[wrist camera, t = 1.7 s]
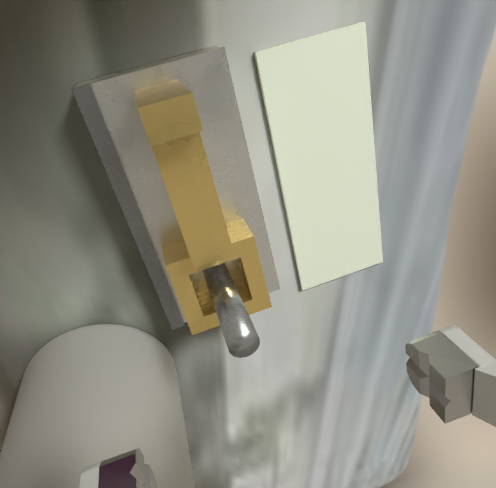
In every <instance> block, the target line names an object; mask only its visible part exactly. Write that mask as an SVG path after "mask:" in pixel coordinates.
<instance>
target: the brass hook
mask: <svg viewBox="0 0 496 488" xmlns="http://www.w3.org/2000/svg"><path fill="white" fill-rule="evenodd" d="M134 94H135V99H136V104H137V109H138V112H139V114H140V117H141V120H142V123H143V126H144V129H145V132H146V134H147V137H148V140H149V143H150V146H152V149H153V152H154V155H155V158H156V161H157V163H158V166H159V169H160V172H161V175H162V178H163V181H164V183H165V186H166V189H167V192H168V195H169V198H170V201H171V203H172V206H173V209H174V212H175V215H176V218H177V221H178V224H179V226H180V229H181V232H182V235H183V238H181V239H178V240H175V241H172V242H169V243H166V244H163V245H161V246H162V251H163V257H164V262H165V267H166V269H167V272H168V274H169V277H170V280H171V282H172V285H173V287H174V290H175V292H176V295H177V298H178V300H179V303H180V305H181V308H182V310H183V313H184V315H185V318H186V321H187V323H188V326H189V328H190V331H191V333H192V335H194V334H197V333H200V332H203V331H206V330H208V329H211V328H214V327H217V326H219V325H220V323H219V320H218V317H217V314H216V311H215V308H214V305H213V302H212V299H211V296H210V293H209V290H205V291H203V292H200V293H197V291H196V289H195V286H194V283H193V280H192V278H191V275H190V274H193V273H196V272H199V271H202V270H205V269H208V268H210V267H213V266H216V265H219V264H222V263H225V262H228V261H231V260H234V259H237V262H238V265H239V269H240V272H241V276H242V278H240V279H237V280H234V283H235V285H236V288H237V290H238V292H239V294H240V297H241V299H242V301H243V303H244V306H245V308H246V310H247V312H248V315H250V314H253V313H256V312H258V311H261V310H264V309H267V308H269V307H272V306H271V302H270V298H269V294H268V290H267V286H266V282H265V278H264V274H263V270H262V266H261V262H260V258H259V254H258V250H257V246H256V242H255V238H254V235H253V234H252V232H251V231H250V229H249V228H248V226H247V224H246V223H245V221H244V220H243V218H242V219H239V220H236V221H233V222H230V223H227V224H226V223H225V219H224V216H223V212H222V209H221V205H220V202H219V198H218V195H217V191H216V188H215V184H214V181H213V177H212V173H211V170H210V166H209V163H208V159H207V156H206V152H205V149H204V145H203V142H202V138H201V135H200V131H203V129H202V125H201V121H200V118H199V114H198V111H197V107H196V104H195V100H194V96H193V93H192V92H191V91H190V90H189V89H188V88H187V87H185V86H184V85H183V84H182V83H181V82H179V81H178V80H173V81H170V82H166V83H162V84H159V85H155V86H152V87H148V88H145V89H141V90H137V91H134Z"/></svg>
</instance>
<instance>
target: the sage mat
mask: <svg viewBox="0 0 496 488" xmlns="http://www.w3.org/2000/svg"><path fill="white" fill-rule="evenodd" d="M254 55H255V60H256V65H257V70H258V75H259V80H260V85H261V90H262V95H263V100H264V105H265V110H266V115H267V120H268V125H269V130H270V135H271V140H272V146H273V151H274V156H275V161H276V166H277V171H278V176H279V181H280V186H281V191H282V196H283V201H284V206H285V211H286V216H287V221H288V226H289V231H290V236H291V241H292V246H293V251H294V256H295V261H296V266H297V271H298V276H299V281H300V286H301V289H302V290H306V289H308V288H311V287H314V286H317V285H320V284H322V283H325V282H328V281H331V280H334V279H336V278H339V277H342V276H345V275H348V274H350V273H353V272H356V271H359V270H361V269H364V268H367V267H370V266H373V265H375V264H378V263H381V262H383V257H382V243H381V230H380V216H379V203H378V189H377V175H376V162H375V148H374V134H373V121H372V107H371V93H370V80H369V66H368V53H367V39H366V25H365V22H361V23H357V24H354V25H350V26H346V27H343V28H339V29H336V30H332V31H328V32H325V33H321V34H318V35H314V36H310V37H307V38H303V39H300V40H296V41H292V42H289V43H285V44H282V45H278V46H274V47H271V48H267V49H264V50H260V51H256V52H254Z"/></svg>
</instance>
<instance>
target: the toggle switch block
mask: <svg viewBox="0 0 496 488" xmlns="http://www.w3.org/2000/svg"><path fill="white" fill-rule="evenodd" d="M173 80H178V81H179V82H181V83H182V84H183V85H184V86H185V87H187V88H188V89H189V90H190V91H191V92H192V93H193V96H194V100H195V104H196V107H197V111H198V114H199V118H200V121H201V125H202V129H203V131H200V135H201V138H202V142H203V145H204V149H205V152H206V156H207V159H208V163H209V166H210V170H211V173H212V177H213V181H214V184H215V188H216V191H217V195H218V198H219V202H220V205H221V209H222V212H223V216H224V219H225V223H226V224H227V223H230V222H233V221H236V220H239V219H242V218H243V220H244V221H245V223H246V224H247V226H248V228H249V229H250V231H251V232H252V234H253V235H254V238H255V242H256V246H257V250H258V254H259V258H260V262H261V266H262V270H263V274H264V278H265V282H266V286H267V290H268V293H270V292H272V291H275V290H278V289H280V287H279V282H278V278H277V274H276V269H275V265H274V261H273V256H272V252H271V248H270V243H269V239H268V235H267V230H266V226H265V222H264V217H263V213H262V209H261V204H260V200H259V196H258V191H257V187H256V183H255V178H254V174H253V170H252V165H251V161H250V157H249V152H248V148H247V144H246V139H245V135H244V131H243V126H242V122H241V118H240V113H239V109H238V105H237V100H236V96H235V92H234V87H233V83H232V79H231V74H230V70H229V66H228V61H227V57H226V53H225V48H224V47H220V46H212V47H208V48H205V49H201V50H197V51H194V52H190V53H186V54H183V55H179V56H175V57H172V58H168V59H164V60H161V61H157V62H153V63H150V64H146V65H142V66H139V67H135V68H131V69H128V70H124V71H120V72H117V73H113V74H109V75H106V76H102V77H98V78H95V79H91V80H87V81H84V82H80V83H77V84H76V85H75V86H74V87H73V88H72V92H73V94H74V97H75V99H76V102H77V104H78V106H79V109H80V111H81V114H82V116H83V118H84V121H85V123H86V125H87V128H88V130H89V133H90V135H91V137H92V140H93V142H94V145H95V147H96V149H97V152H98V154H99V156H100V159H101V161H102V164H103V166H104V168H105V171H106V173H107V176H108V178H109V180H110V183H111V185H112V188H113V190H114V192H115V195H116V197H117V199H118V202H119V204H120V207H121V209H122V211H123V214H124V216H125V219H126V221H127V223H128V226H129V228H130V230H131V233H132V235H133V238H134V240H135V242H136V245H137V247H138V250H139V252H140V254H141V257H142V259H143V261H144V264H145V266H146V269H147V271H148V273H149V276H150V278H151V281H152V283H153V285H154V288H155V290H156V293H157V295H158V297H159V300H160V302H161V304H162V307H163V309H164V312H165V314H166V316H167V319H168V321H169V324H170V326H171V328H172V330H175V329H178V328H180V327H183V326H185V324H184V323H185V322H187V321H186V318H185V315H184V313H183V310H182V308H181V305H180V303H179V300H178V298H177V295H176V292H175V290H174V287H173V285H172V282H171V280H170V277H169V274H168V272H167V269H166V267H165V262H164V257H163V251H162V246H161V245H163V244H166V243H169V242H172V241H175V240H178V239H181V238H183V235H182V232H181V229H180V226H179V224H178V221H177V218H176V215H175V212H174V209H173V206H172V203H171V201H170V198H169V195H168V192H167V189H166V186H165V183H164V181H163V178H162V175H161V172H160V169H159V166H158V163H157V161H156V158H155V155H154V152H153V149H152V146H150V143H149V140H148V137H147V134H146V132H145V129H144V126H143V123H142V120H141V117H140V114H139V112H138V109H137V104H136V99H135V94H134V91H137V90H141V89H145V88H148V87H152V86H155V85H159V84H162V83H166V82H170V81H173ZM190 275H191V278H192V280H193V283H194V286H195V289H196V291H197V293H200V292H203V291H205V290H209V293H210V296H211V299H212V302H213V305H214V308H215V311H216V314H217V317H218V320H219V323H220V326H221V329H222V332H223V335H224V338H225V341H226V344H227V347H228V350H229V352H230V353H231V354H232V355H233V356H235V357H240V358H242V357H247V356H249V355H251V354H253V353H254V352H255V351H256V350H257V349H258V347H259V344H260V340H259V337H258V335H257V332H256V330H255V328H254V326H253V324H252V321H251V319H250V317H249V315H248V312H247V310H246V308H245V306H244V303H243V301H242V299H241V297H240V294H239V292H238V290H237V288H236V285H235V283H234V280H237V279H240V278H242V276H241V272H240V269H239V265H238V262H237V259H234V260H231V261H228V262H225V263H222V264H219V265H216V266H213V267H210V268H208V269H205V270H202V271H199V272H196V273H193V274H190Z"/></svg>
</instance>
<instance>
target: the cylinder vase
mask: <svg viewBox="0 0 496 488" xmlns="http://www.w3.org/2000/svg"><path fill="white" fill-rule="evenodd" d="M138 448H139V449H140V450H141V452H142V453H143V455H144V463H145V464H148V465H150V467H151V469H152V471H153V474H154V476H155V480H156V484H157V488H195V485H194V478H193V472H192V466H191V459H190V453H189V447H188V441H187V434H186V428H185V422H184V415H183V409H182V403H181V396H180V390H179V384H178V378H177V371H176V366H175V363H174V360H173V358H172V356H171V354H170V353H169V351H168V350H167V348H166V347H165V346H164V345H163V344H162V343H161V342H160V341H159V340H157V339H156V338H155V337H153V336H152V335H150V334H148V333H146V332H144V331H142V330H139V329H137V328H133V327H130V326H125V325H119V324H96V325H89V326H84V327H80V328H76V329H73V330H71V331H68V332H66V333H63V334H61V335H59V336H58V337H56V338H54V339H53V340H51V341H50V342H48V343H47V344H46V345H44V346H43V347H42V348H41V349H40V350H39V351H38V352H37V353H36V354H35V355H34V357H33V358H32V359H31V361H30V362H29V364H28V365H27V367H26V369H25V372H24V374H23V378H22V381H21V385H20V388H19V391H18V395H17V398H16V402H15V405H14V409H13V412H12V415H11V419H10V422H9V426H8V429H7V433H6V436H5V439H4V443H3V446H2V450H1V453H0V488H79V481H80V474H81V472H82V469H83V468H85V467H88V466H91V465H93V464H96V463H99V462H101V461H104V460H107V459H109V458H112V457H115V456H118V455H121V454H123V453H126V452H129V451H132V450H134V449H138Z"/></svg>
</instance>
